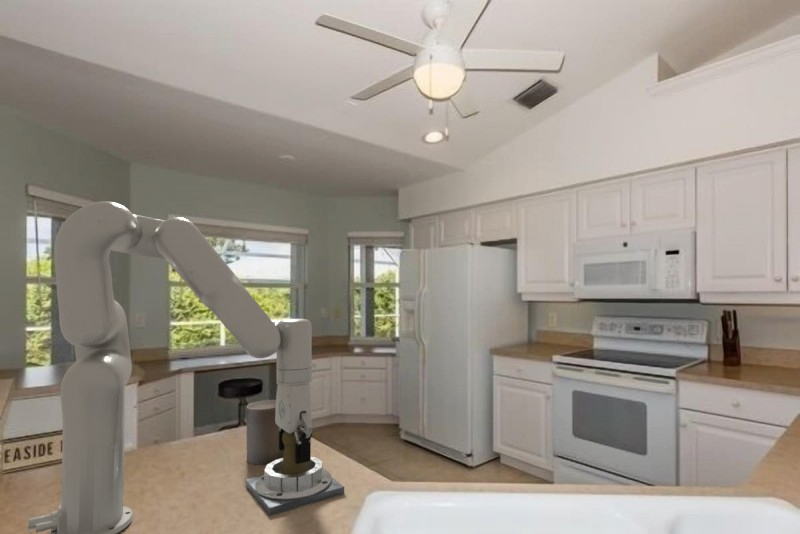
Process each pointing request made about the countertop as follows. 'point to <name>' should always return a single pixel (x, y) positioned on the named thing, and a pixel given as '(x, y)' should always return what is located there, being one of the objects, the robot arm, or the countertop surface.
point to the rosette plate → (293, 503)
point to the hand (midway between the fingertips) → (294, 455)
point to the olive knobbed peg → (291, 456)
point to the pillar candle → (262, 433)
